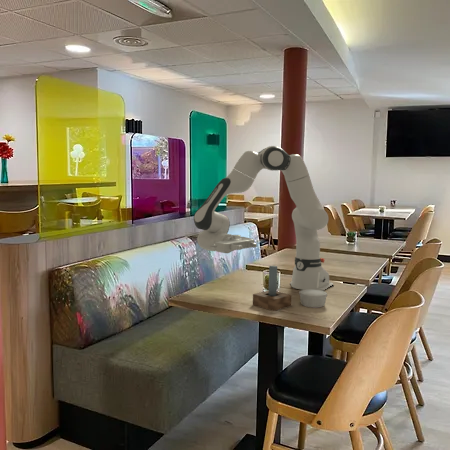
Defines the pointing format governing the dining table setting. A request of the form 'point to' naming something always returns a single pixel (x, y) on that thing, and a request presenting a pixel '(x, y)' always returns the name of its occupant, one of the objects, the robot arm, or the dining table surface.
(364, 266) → the dining table surface
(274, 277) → the dowel
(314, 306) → the ramekin
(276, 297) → the wooden candle holder
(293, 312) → the dining table surface
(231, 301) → the dining table surface
